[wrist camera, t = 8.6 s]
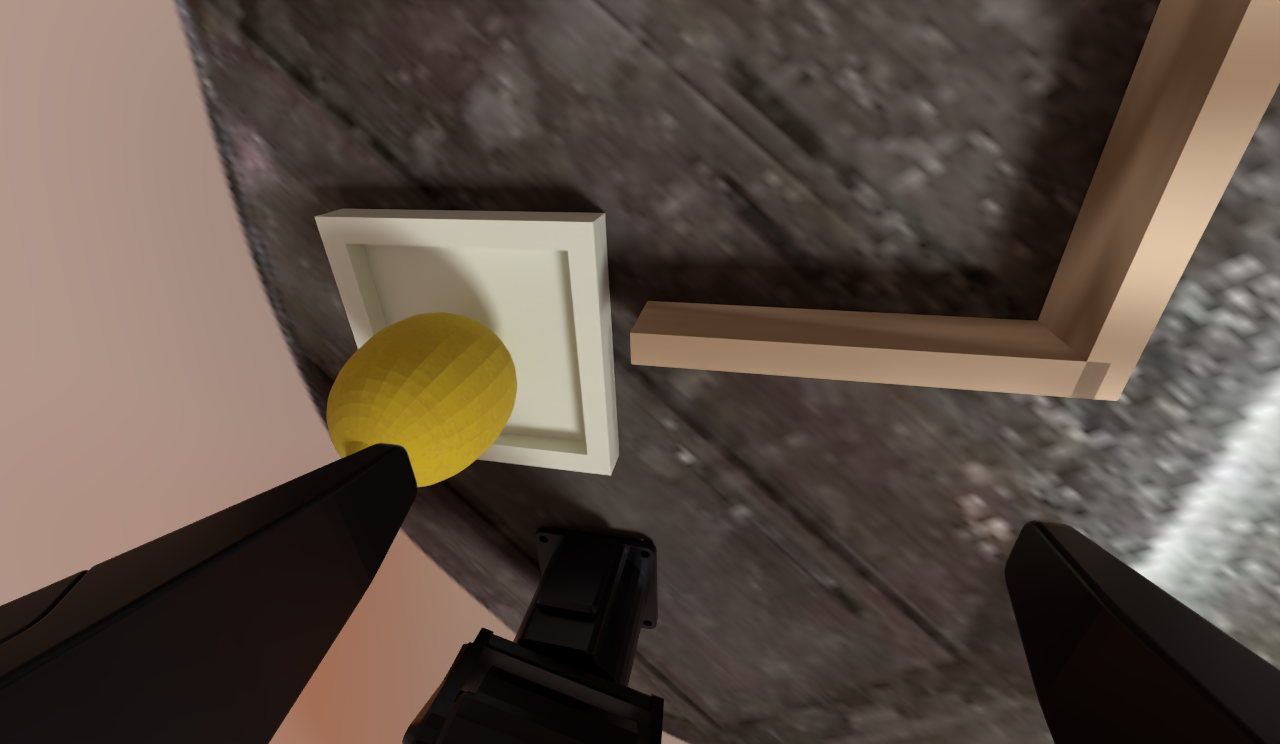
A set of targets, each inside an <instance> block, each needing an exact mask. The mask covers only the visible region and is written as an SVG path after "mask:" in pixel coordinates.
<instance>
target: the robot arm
mask: <svg viewBox="0 0 1280 744" xmlns="http://www.w3.org/2000/svg"><path fill="white" fill-rule="evenodd" d="M416 494H417V481H416V478H415V475H414V472H413V468H412V465H411V462H410V459H409V456H408V453H407V450H406V449H405V448H404V447H403V446H401V445H396V444H388V443H377V444H374V445H371V446H369V447H367V448H365V449H362V450H360V451H358V452H355V453H353V454H351V455H348V456H346V457H344V458H342V459H339V460H337V461H335V462H332V463H330V464H328V465H325V466H323V467H321V468H318V469H316V470H314V471H312V472H309V473H307V474H305V475H303V476H300V477H298V478H295V479H293V480H291V481H289V482H286V483H284V484H282V485H279V486H277V487H275V488H272V489H270V490H268V491H266V492H263V493H261V494H259V495H256V496H254V497H252V498H249V499H247V500H245V501H242V502H241V503H238V504H236V505H233V506H231V507H229V508H226V509H224V510H222V511H219V512H217V513H215V514H213V515H210V516H208V517H206V518H203V519H201V520H199V521H196V522H194V523H192V524H190V525H187V526H185V527H183V528H180V529H178V530H176V531H173V532H171V533H169V534H166V535H164V536H162V537H160V538H157V539H155V540H153V541H150V542H148V543H146V544H144V545H141V546H139V547H137V548H134V549H132V550H130V551H127V552H125V553H123V554H120V555H118V556H116V557H114V558H111V559H109V560H107V561H104V562H102V563H100V564H97V565H95V566H94V567H92V568H91V569H90V570H84V571H81V572H79V573H76V574H74V575H72V576H69V577H67V578H65V579H63V580H60V581H58V582H56V583H53V584H51V585H49V586H47V587H44V588H42V589H40V590H38V591H35V592H32V593H30V594H28V595H25V596H23V597H21V598H18V599H16V600H13V601H11V602H9V603H6V604H4V605H2V606H0V744H269V742H270V741H271V739H272V737H273V736H274V734H275V733H276V731H277V729H278V728H279V726H280V725H281V723H282V722H283V720H284V719H285V717H286V716H287V714H288V713H289V711H290V709H291V708H292V706H293V705H294V703H295V702H296V700H297V698H298V697H299V695H300V694H301V692H302V691H303V689H304V687H305V686H306V684H307V683H308V681H309V680H310V678H311V677H312V675H313V673H314V672H315V670H316V669H317V667H318V666H319V664H320V663H321V661H322V659H323V658H324V656H325V655H326V653H327V652H328V650H329V648H330V647H331V645H332V644H333V642H334V641H335V639H336V637H337V636H338V634H339V633H340V631H341V630H342V628H343V627H344V625H345V624H346V622H347V620H348V619H349V617H350V616H351V614H352V613H353V611H354V609H355V608H356V606H357V605H358V603H359V601H360V600H361V599H362V597H363V595H364V594H365V592H366V590H367V589H368V587H369V585H370V584H371V582H372V580H373V578H374V577H375V575H376V573H377V571H378V569H379V567H380V566H381V563H382V562H383V560H384V558H385V556H386V554H387V552H388V550H389V548H390V546H391V544H392V542H393V540H394V538H395V536H396V535H397V533H398V531H399V529H400V527H401V525H402V523H403V521H404V519H405V517H406V515H407V513H408V511H409V509H410V507H411V506H412V504H413V502H414V500H415V497H416ZM535 543H536V548H537V554H538V559H539V565H540V571H541V576H542V579H541V581H540V583H539V585H538V588H537V590H536V592H535V594H534V596H533V599H532V601H531V603H530V605H529V608H528V610H527V612H526V614H525V616H524V619H523V621H522V623H521V625H520V628H519V630H518V632H517V634H516V636H515V639H514V641H513V642H512V641H509V640H507V639H504V638H502V637H499V636H497V635H494V634H493V631H490V630H488V629H485V628H482V629H481V630H480V632H479V634H478V635H477V637H476V639H475V641H474V642H473V643H471V642H469V643H468V644H463V646H462V648H461V650H460V651H459V653H458V655H457V657H456V659H455V661H454V663H453V664H452V667H451V668H450V670H449V672H448V674H447V675H446V677H445V678H444V680H443V682H442V683H441V684H440V686H439V687H438V688H437V690H436V691H435V692H434V694H433V695H432V696H431V698H430V699H429V701H428V702H427V703H426V704H425V706H424V707H423V708H422V710H421V711H420V712H419V714H418V715H417V717H416V718H415V719H414V720H413V722H412V723H411V724H410V726H409V727H408V729H407V731H406V733H405V735H404V738H403V740H402V744H661V738H662V722H663V705H664V699H663V698H661V697H658V696H656V695H653V694H652V695H651V696H649V695H647V694H644V693H642V692H639V691H636V690H634V689H631V688H629V687H628V683H629V678H630V674H631V670H632V665H633V661H634V656H635V652H636V647H637V643H638V638H639V634H640V629H641V628H646V629H653V628H655V627H656V624H657V619H658V610H657V550H656V547H655V546H654V544H652V543H650V542H647V541H640V540H633V539H626V538H619V537H612V536H605V535H598V534H591V533H584V532H577V531H570V530H564V529H557V528H550V527H540V528H539V529H538V530H537V532H536V534H535ZM646 551H647V552H646ZM1005 581H1006V585H1007V589H1008V592H1009V596H1010V600H1011V603H1012V607H1013V611H1014V614H1015V618H1016V622H1017V625H1018V629H1019V633H1020V636H1021V640H1022V643H1023V647H1024V651H1025V654H1026V658H1027V662H1028V665H1029V669H1030V673H1031V676H1032V680H1033V683H1034V687H1035V690H1036V693H1037V696H1038V700H1039V703H1040V706H1041V708H1042V711H1043V714H1044V717H1045V719H1046V722H1047V725H1048V728H1049V730H1050V733H1051V735H1052V738H1053V740H1054V743H1055V744H1280V670H1278V669H1277V668H1275V667H1274V666H1272V665H1271V664H1270V663H1268V662H1267V661H1265V660H1264V659H1262V658H1261V657H1259V656H1258V655H1257V654H1255V653H1254V652H1252V651H1251V650H1249V649H1248V648H1246V647H1245V646H1243V645H1242V644H1241V643H1239V642H1238V641H1236V640H1235V639H1233V638H1232V637H1230V636H1229V635H1228V634H1226V633H1225V632H1223V631H1222V630H1220V629H1219V628H1217V627H1216V626H1215V625H1213V624H1212V623H1210V622H1209V621H1207V620H1206V619H1204V618H1203V617H1201V616H1200V615H1199V614H1197V613H1196V612H1194V611H1193V610H1191V609H1190V608H1188V607H1187V606H1186V605H1184V604H1183V603H1181V602H1180V601H1178V600H1177V599H1175V598H1174V597H1172V596H1171V595H1170V594H1168V593H1167V592H1165V591H1164V590H1162V589H1161V588H1159V587H1158V586H1157V585H1155V584H1154V583H1152V582H1151V581H1149V580H1148V579H1146V578H1145V577H1144V576H1142V575H1141V574H1139V573H1138V572H1136V571H1135V570H1133V569H1132V568H1130V567H1129V566H1128V565H1126V564H1125V563H1123V562H1122V561H1120V560H1119V559H1117V558H1116V557H1115V556H1113V555H1112V554H1110V553H1109V552H1107V551H1106V550H1104V549H1103V548H1102V547H1100V546H1099V545H1097V544H1096V543H1094V542H1093V541H1091V540H1090V539H1088V538H1087V537H1086V536H1084V535H1083V534H1081V533H1080V532H1078V531H1077V530H1075V529H1074V528H1072V527H1071V526H1068V525H1066V524H1062V523H1054V522H1045V521H1037V520H1034V521H1029V522H1028V523H1026V524H1025V525H1024V527H1023V528H1022V530H1021V532H1020V534H1019V536H1018V538H1017V541H1016V543H1015V545H1014V547H1013V549H1012V551H1011V553H1010V556H1009V558H1008V560H1007V562H1006V566H1005Z"/></svg>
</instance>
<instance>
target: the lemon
mask: <svg viewBox="0 0 1280 744" xmlns="http://www.w3.org/2000/svg"><path fill="white" fill-rule="evenodd" d="M516 392H517V378H516V370H515V366H514V363H513V360H512V358H511V355H510V353H509V351H508V350H507V348H506V347H505V345H504V344H503V342H502V341H501V339H500V338H499V337H498V336H497V335H496V334H495V333H494V332H493V331H491V330H490V329H489V328H487V327H486V326H484V325H483V324H481V323H480V322H478V321H476V320H473V319H471V318H468V317H466V316H463V315H458V314H452V313H446V312H437V313H425V314H419V315H414V316H411V317H408V318H406V319H403V320H401V321H399V322H396V323H394V324H392V325H389V326H387V327H385V328H384V329H382V330H380V331H379V332H378V333H376V334H375V335H374V336H372V337H371V338H370V339H369V340H368V341H367V342H366V343H365V344H364V345H362V346H361V347H360V348H359V349H358V350H357V351H356V352H355V353H354V354H353V355H352V356H351V357H350V358H349V360H348V361H347V362H346V363H345V365H344V366H343V368H342V369H341V371H340V372H339V374H338V376H337V378H336V380H335V382H334V384H333V387H332V389H331V391H330V393H329V397H328V402H327V424H328V429H329V433H330V437H331V440H332V442H333V444H334V446H335V448H336V450H337V452H338V453H339V455H340V456H341V457H342V458H344V457H346V456H348V455H351V454H353V453H355V452H358V451H360V450H362V449H365V448H367V447H369V446H371V445H374V444H377V443H388V444H396V445H401V446H403V447H404V448H405V449H406V450H407V453H408V456H409V459H410V462H411V465H412V468H413V472H414V475H415V478H416V481H417V487H424V486H428V485H433V484H435V483H438V482H440V481H443V480H445V479H447V478H450V477H452V476H454V475H456V474H457V473H459V472H461V471H462V470H464V469H465V468H466V467H468V466H469V465H470V464H472V463H473V462H474V461H475V460H476V459H478V458H479V457H480V456H481V455H482V454H483V453H484V452H485V451H486V450H487V449H489V448H490V447H491V446H492V444H493V443H494V442H495V441H496V440H497V438H498V437H499V435H500V434H501V432H502V430H503V428H504V427H505V425H506V423H507V421H508V419H509V418H510V416H511V413H512V411H513V408H514V404H515V398H516Z"/></svg>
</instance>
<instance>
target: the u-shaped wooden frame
mask: <svg viewBox="0 0 1280 744" xmlns="http://www.w3.org/2000/svg"><path fill="white" fill-rule="evenodd" d="M1279 83H1280V0H1161V1H1160V4H1159V7H1158V9H1157V12H1156V14H1155V17H1154V20H1153V22H1152V25H1151V27H1150V30H1149V33H1148V35H1147V38H1146V40H1145V43H1144V46H1143V48H1142V51H1141V53H1140V56H1139V59H1138V61H1137V64H1136V66H1135V69H1134V72H1133V74H1132V77H1131V79H1130V82H1129V85H1128V87H1127V90H1126V92H1125V95H1124V98H1123V100H1122V103H1121V105H1120V108H1119V111H1118V113H1117V116H1116V118H1115V121H1114V124H1113V126H1112V129H1111V131H1110V134H1109V137H1108V139H1107V142H1106V144H1105V147H1104V150H1103V152H1102V155H1101V157H1100V160H1099V163H1098V165H1097V168H1096V171H1095V173H1094V176H1093V178H1092V181H1091V184H1090V186H1089V189H1088V191H1087V194H1086V197H1085V199H1084V202H1083V204H1082V207H1081V210H1080V212H1079V215H1078V217H1077V220H1076V223H1075V225H1074V228H1073V230H1072V233H1071V236H1070V238H1069V241H1068V243H1067V246H1066V249H1065V251H1064V254H1063V256H1062V259H1061V262H1060V264H1059V267H1058V269H1057V272H1056V275H1055V277H1054V280H1053V282H1052V285H1051V288H1050V290H1049V293H1048V295H1047V298H1046V301H1045V303H1044V306H1043V308H1042V311H1041V314H1040V316H1039V319H1038V321H1035V320H1016V319H996V318H976V317H956V316H937V315H917V314H897V313H877V312H857V311H838V310H818V309H798V308H778V307H758V306H739V305H719V304H699V303H679V302H660V301H647V302H646V304H645V306H644V308H643V310H642V312H641V314H640V315H639V317H638V319H637V321H636V323H635V325H634V327H633V328H632V330H631V332H630V342H631V364H636V365H649V366H662V367H676V368H689V369H702V370H715V371H728V372H742V373H755V374H768V375H781V376H794V377H808V378H821V379H834V380H847V381H860V382H874V383H887V384H900V385H913V386H927V387H940V388H953V389H966V390H979V391H993V392H1006V393H1019V394H1032V395H1045V396H1059V397H1072V398H1085V399H1098V400H1111V401H1118V399H1119V397H1120V395H1121V393H1122V391H1123V389H1124V387H1125V385H1126V383H1127V381H1128V379H1129V377H1130V375H1131V373H1132V371H1133V370H1134V368H1135V366H1136V364H1137V362H1138V360H1139V358H1140V356H1141V354H1142V352H1143V350H1144V348H1145V346H1146V344H1147V342H1148V340H1149V338H1150V336H1151V334H1152V332H1153V330H1154V328H1155V326H1156V324H1157V322H1158V320H1159V318H1160V317H1161V315H1162V313H1163V311H1164V309H1165V307H1166V305H1167V303H1168V301H1169V299H1170V297H1171V295H1172V293H1173V291H1174V289H1175V287H1176V285H1177V283H1178V281H1179V279H1180V277H1181V275H1182V273H1183V271H1184V269H1185V267H1186V266H1187V264H1188V262H1189V260H1190V258H1191V256H1192V254H1193V252H1194V250H1195V248H1196V246H1197V244H1198V242H1199V240H1200V238H1201V236H1202V234H1203V232H1204V230H1205V228H1206V226H1207V224H1208V222H1209V220H1210V218H1211V216H1212V215H1213V213H1214V211H1215V209H1216V207H1217V205H1218V203H1219V201H1220V199H1221V197H1222V195H1223V193H1224V191H1225V189H1226V187H1227V185H1228V183H1229V181H1230V179H1231V177H1232V175H1233V173H1234V171H1235V169H1236V167H1237V165H1238V163H1239V162H1240V160H1241V158H1242V156H1243V154H1244V152H1245V150H1246V148H1247V146H1248V144H1249V142H1250V140H1251V138H1252V136H1253V134H1254V132H1255V130H1256V128H1257V126H1258V124H1259V122H1260V120H1261V118H1262V116H1263V114H1264V112H1265V111H1266V109H1267V107H1268V105H1269V103H1270V101H1271V99H1272V97H1273V95H1274V93H1275V91H1276V89H1277V87H1278V85H1279Z"/></svg>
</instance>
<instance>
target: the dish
mask: <svg viewBox="0 0 1280 744" xmlns="http://www.w3.org/2000/svg"><path fill="white" fill-rule="evenodd" d="M314 217H315V220H316V223H317V227H318V230H319V233H320V236H321V239H322V242H323V245H324V248H325V251H326V254H327V257H328V260H329V263H330V266H331V269H332V272H333V275H334V278H335V281H336V284H337V287H338V290H339V293H340V296H341V299H342V302H343V305H344V308H345V311H346V314H347V317H348V320H349V323H350V326H351V329H352V332H353V335H354V338H355V341H356V344H357V347H358V349H359V348H360V347H361V346H362V345H364V344H365V343H366V342H367V341H368V340H369V339H370V338H371V337H372V336H374V335H375V334H376V333H378V332H379V331H380V330H382V329H384V328H385V327H387V326H389V325H392V324H394V323H396V322H399V321H401V320H403V319H406V318H408V317H411V316H414V315H419V314H425V313H437V312H446V313H452V314H458V315H463V316H466V317H468V318H471V319H473V320H476V321H478V322H480V323H481V324H483V325H484V326H486V327H487V328H489V329H490V330H491V331H493V332H494V333H495V334H496V335H497V336H498V337H499V338H500V339H501V341H502V342H503V344H504V345H505V347H506V348H507V350H508V351H509V353H510V355H511V358H512V360H513V363H514V366H515V370H516V378H517V392H516V398H515V404H514V408H513V411H512V413H511V416H510V418H509V419H508V421H507V423H506V425H505V427H504V428H503V430H502V432H501V434H500V435H499V437H498V438H497V440H496V441H495V442H494V443H493V444H492V446H491V447H490V448H489V449H487V450H486V451H485V452H484V453H483V454H482V455H481V456H480V457H479V458H478V460H486V461H494V462H503V463H511V464H519V465H528V466H536V467H544V468H553V469H561V470H569V471H578V472H586V473H594V474H602V475H611V474H612V472H613V469H614V466H615V464H616V461H617V459H618V456H619V444H618V427H617V410H616V393H615V376H614V359H613V342H612V325H611V308H610V291H609V274H608V257H607V240H606V223H605V213H582V212H521V211H460V210H400V209H339V210H335V211H332V212H328V213H325V214H321V215H318V216H314Z"/></svg>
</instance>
